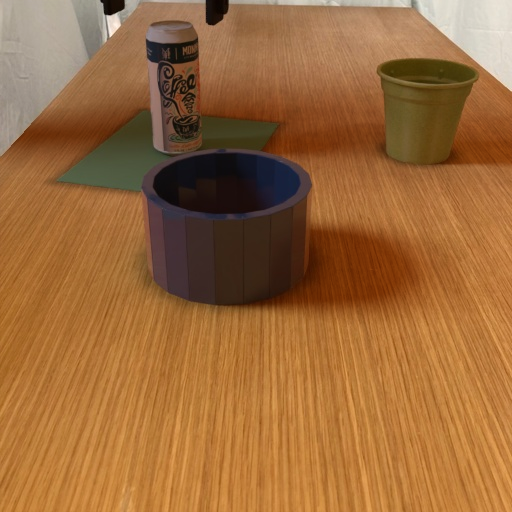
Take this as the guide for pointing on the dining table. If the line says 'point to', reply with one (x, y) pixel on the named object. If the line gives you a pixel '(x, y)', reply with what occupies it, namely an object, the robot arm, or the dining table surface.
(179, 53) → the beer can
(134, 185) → the mat
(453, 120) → the plant pot
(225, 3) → the robot arm
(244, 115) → the dining table surface
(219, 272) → the pot
